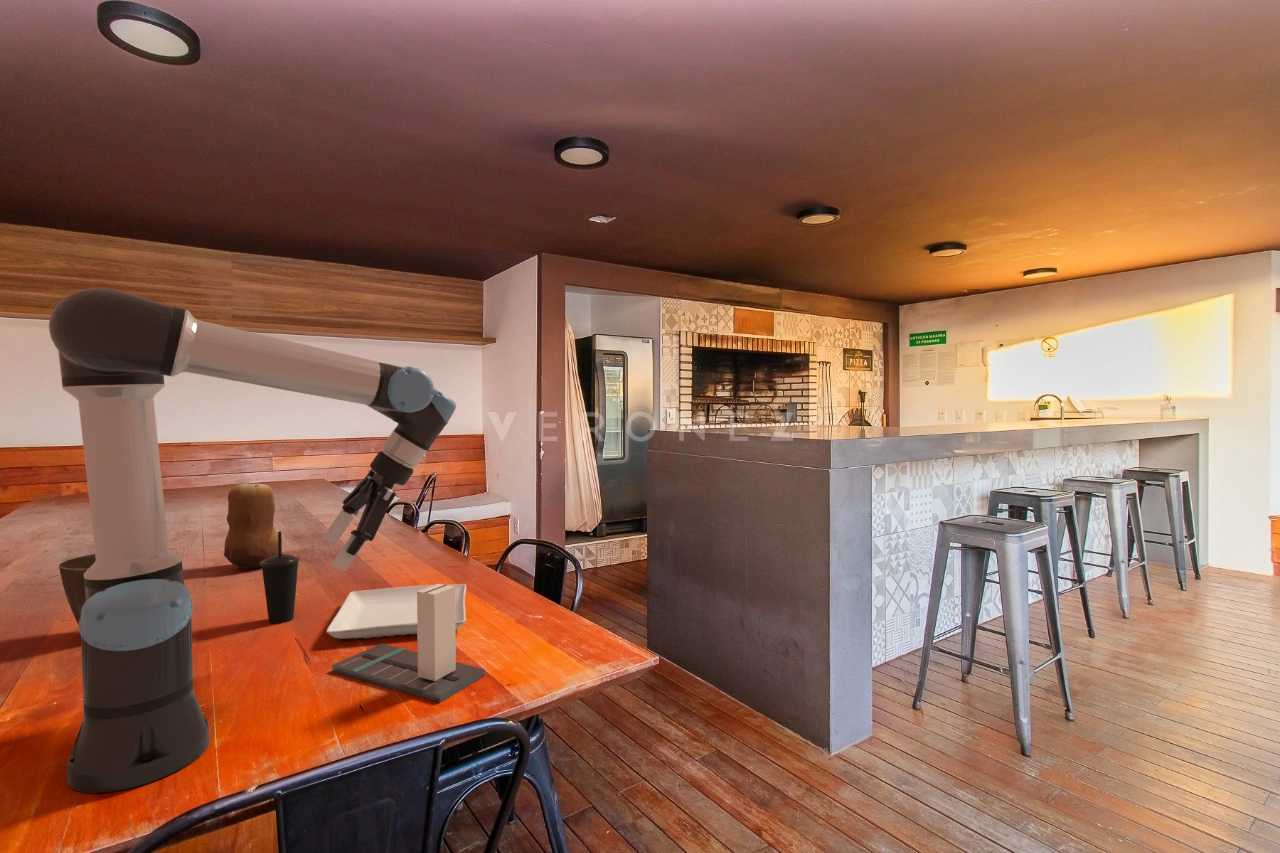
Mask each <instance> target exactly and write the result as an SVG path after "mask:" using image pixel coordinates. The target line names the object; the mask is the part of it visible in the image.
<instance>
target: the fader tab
mask: <svg viewBox="0 0 1280 853" xmlns="http://www.w3.org/2000/svg"><path fill="white" fill-rule="evenodd" d="M432 585H433V586H430V587H428V588H425V589H422V590H419V591H417V634H416V636H417V640H416V641H417V652H418V677H422V678H425V679H429V680H433V681H436V680H438V679H440V678H442V677H444V676H445V675H447V674H449V673H451V672H453V671H454V670H456V662H457V655H456V654H457V649H456V643H457V642H456V639H457V637H456V636H457V635H456V634H457V633H456V631H457V629H456V627H455V587H454V586H449V585H450V584H442V583H436V584H432Z"/></svg>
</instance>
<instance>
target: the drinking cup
mask: <svg viewBox="0 0 1280 853" xmlns="http://www.w3.org/2000/svg"><path fill="white" fill-rule="evenodd" d="M277 535H278V554H276V555H273V556H270V557H268V558H266V559H264V560H262V561H261V562H260V565H261V566H262V568H261V570H262V578H263V586H264V593H265V594H264V595H265V600H266V601H265V602H266V611H267V617H268V623H269V622H270V623H269V624H273V623H278V624H283V622H284V623H288V622H290V621H292V620H293V619H294V618H295V616H294V615H295V605H296V595H297V594H296V593H297V582H298V569H299V561H300V559H301V558H300V556H297V555H293V554H292V553H291V554H290V553H283V552H282V551H283V550H282V549H283V547H282V546H283V545H282V542H283V540H282V530H281V531H280V530H279V531H277Z"/></svg>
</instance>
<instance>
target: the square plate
mask: <svg viewBox="0 0 1280 853" xmlns="http://www.w3.org/2000/svg"><path fill="white" fill-rule="evenodd" d="M433 585H434V584H431V585H430V584H428V585H427V584H426V585H412V586H411V585H410V586H400V587H385V588H376V589H365V590H354V591H350V592H349V593H348V595H347V597H346V598H345V600H344V602H343V603H342V605H341V606H340V608H339V610H338V611H337V613H336V615H335V616H334V618H333V619H332V621H331V623H330V624H329V626H327V629H326V632H325V633H326V634H328V635H330V636H331V637H332V638H335V639H340V640H341V639H346V640H347V639H358V638H364V639H372V638H371V637H376V638H384V637H383V636H387V637H395V636H394V635H399V636H407V634H410V635H417V591H419V590H422V589H425V588H428V587H430V586H433ZM448 585H449V586H454V587H455V627H456V630H457V629H459V628H460V627H461V626H463V625H464V624H465V623H466V618H467V616H466V603H465V602H466V593H467V584H466V583H457V584H456V583H455V584H448Z"/></svg>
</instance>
